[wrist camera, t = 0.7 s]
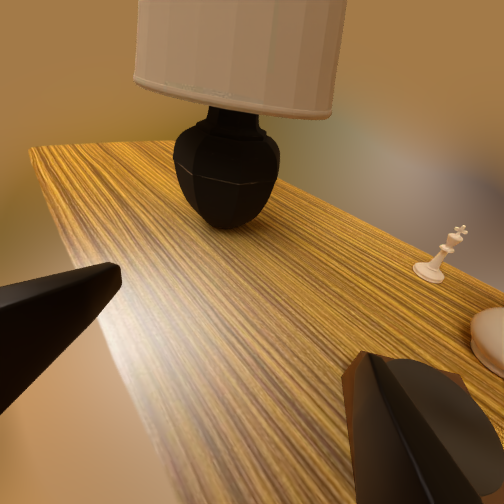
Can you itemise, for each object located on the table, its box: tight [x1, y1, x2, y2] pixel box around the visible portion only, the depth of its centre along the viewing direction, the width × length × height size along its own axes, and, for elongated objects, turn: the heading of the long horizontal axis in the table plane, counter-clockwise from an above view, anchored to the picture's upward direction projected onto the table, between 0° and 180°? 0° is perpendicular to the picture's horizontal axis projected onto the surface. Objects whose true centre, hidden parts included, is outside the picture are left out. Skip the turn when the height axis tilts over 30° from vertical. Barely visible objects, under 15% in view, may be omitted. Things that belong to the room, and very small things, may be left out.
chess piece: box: [413, 225, 468, 283], centre depth 41 cm, size 5×5×10 cm
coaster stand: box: [341, 351, 504, 504], centre depth 20 cm, size 9×9×6 cm
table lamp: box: [133, 0, 347, 229], centre depth 35 cm, size 27×27×40 cm
